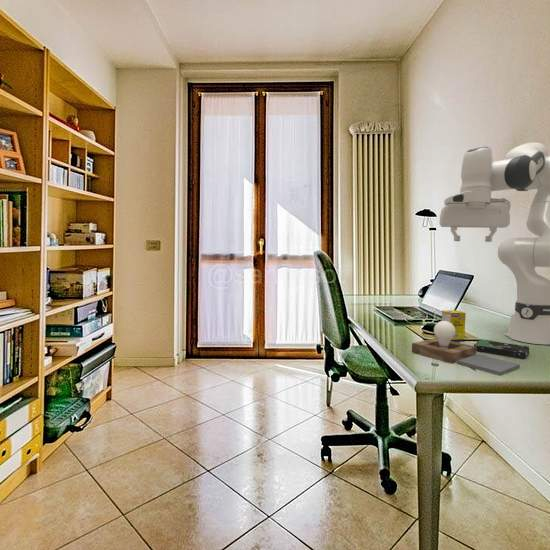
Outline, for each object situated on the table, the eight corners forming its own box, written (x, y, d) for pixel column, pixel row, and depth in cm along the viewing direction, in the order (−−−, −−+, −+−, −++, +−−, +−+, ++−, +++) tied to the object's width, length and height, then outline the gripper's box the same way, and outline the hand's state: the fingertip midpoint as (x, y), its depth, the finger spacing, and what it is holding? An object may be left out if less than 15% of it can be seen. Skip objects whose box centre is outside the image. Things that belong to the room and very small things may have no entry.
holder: (436, 346, 128) (436, 337, 128) (476, 355, 117) (476, 346, 117) (411, 352, 121) (412, 343, 120) (452, 363, 109) (452, 353, 109)
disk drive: (528, 354, 121) (479, 346, 131) (529, 346, 121) (479, 338, 130) (525, 361, 113) (472, 352, 123) (526, 353, 113) (473, 344, 123)
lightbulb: (446, 350, 122) (447, 318, 122) (458, 356, 116) (460, 322, 115) (428, 351, 121) (430, 319, 121) (440, 357, 115) (442, 323, 114)
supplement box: (464, 341, 135) (466, 312, 135) (450, 341, 135) (451, 312, 134) (454, 337, 141) (455, 309, 141) (440, 338, 140) (441, 310, 140)
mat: (477, 357, 116) (477, 354, 115) (519, 367, 106) (519, 364, 106) (457, 363, 109) (457, 360, 109) (499, 375, 99) (500, 371, 99)
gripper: (506, 200, 118) (503, 242, 118) (439, 200, 122) (437, 241, 123) (515, 196, 112) (512, 241, 112) (444, 197, 116) (441, 240, 116)
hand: (472, 241), depth 117 cm, fingers open, 8 cm apart
